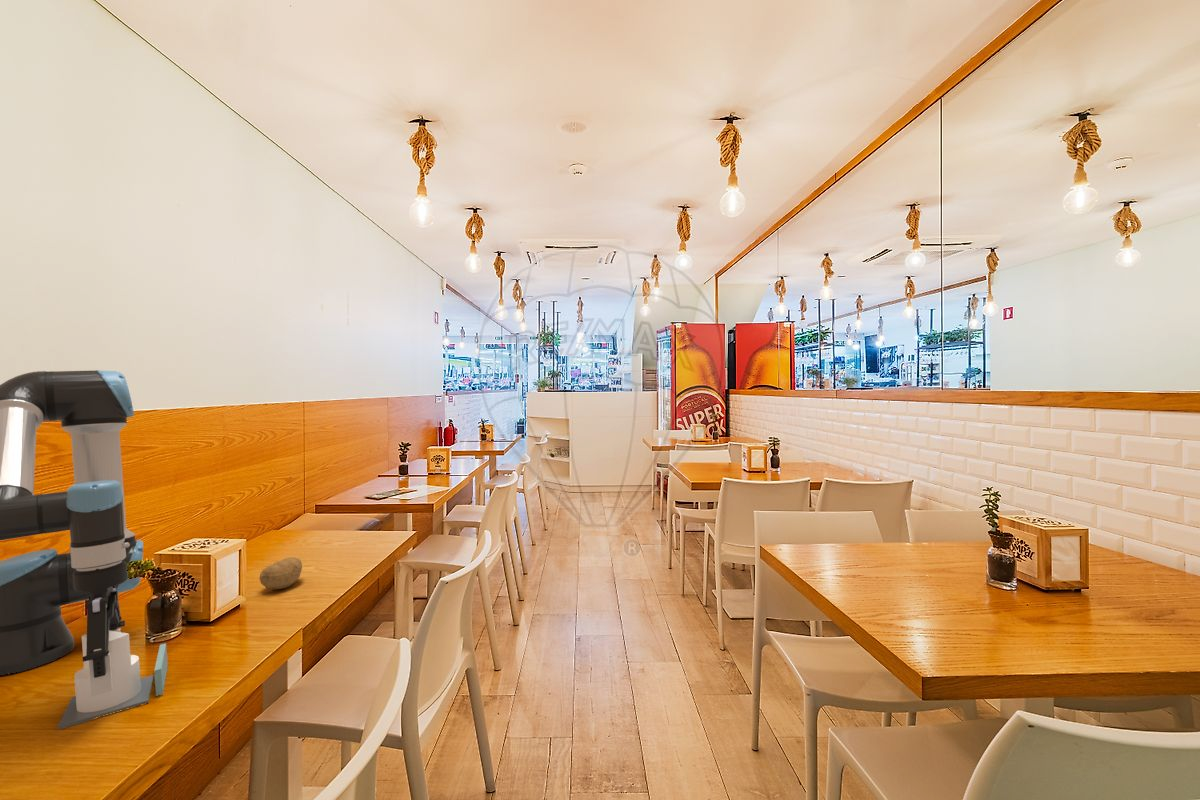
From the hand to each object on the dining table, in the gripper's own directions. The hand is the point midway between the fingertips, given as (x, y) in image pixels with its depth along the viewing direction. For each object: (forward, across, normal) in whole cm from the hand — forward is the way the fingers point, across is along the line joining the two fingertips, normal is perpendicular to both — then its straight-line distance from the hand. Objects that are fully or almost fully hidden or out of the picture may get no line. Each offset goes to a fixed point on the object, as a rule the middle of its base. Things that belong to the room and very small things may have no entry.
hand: (108, 677), depth 102 cm
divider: (+4, +3, -8) cm, 9 cm away
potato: (+5, +50, -33) cm, 60 cm away
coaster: (+4, 0, 0) cm, 5 cm away
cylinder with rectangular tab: (+4, 0, 0) cm, 4 cm away
